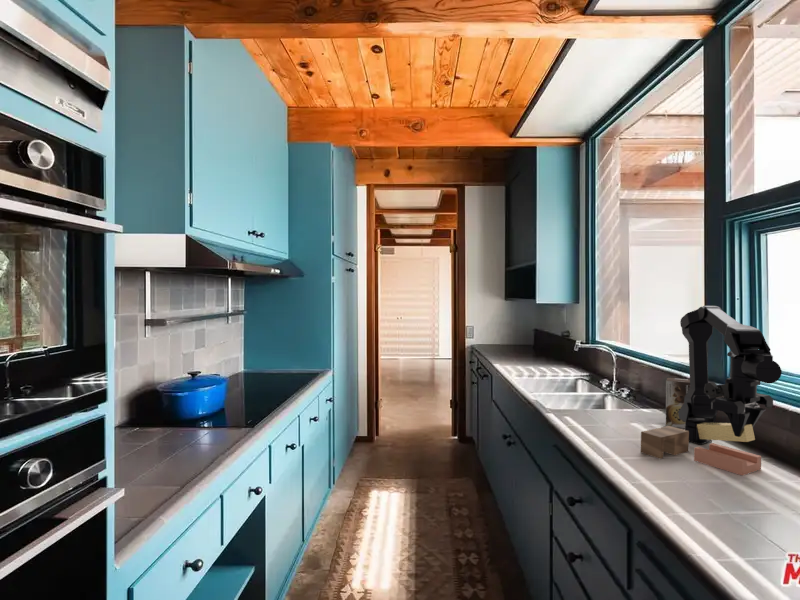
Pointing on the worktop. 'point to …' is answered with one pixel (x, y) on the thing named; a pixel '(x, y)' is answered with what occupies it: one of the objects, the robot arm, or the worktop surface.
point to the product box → (675, 400)
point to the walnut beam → (664, 441)
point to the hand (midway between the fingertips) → (741, 435)
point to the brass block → (724, 432)
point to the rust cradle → (728, 459)
